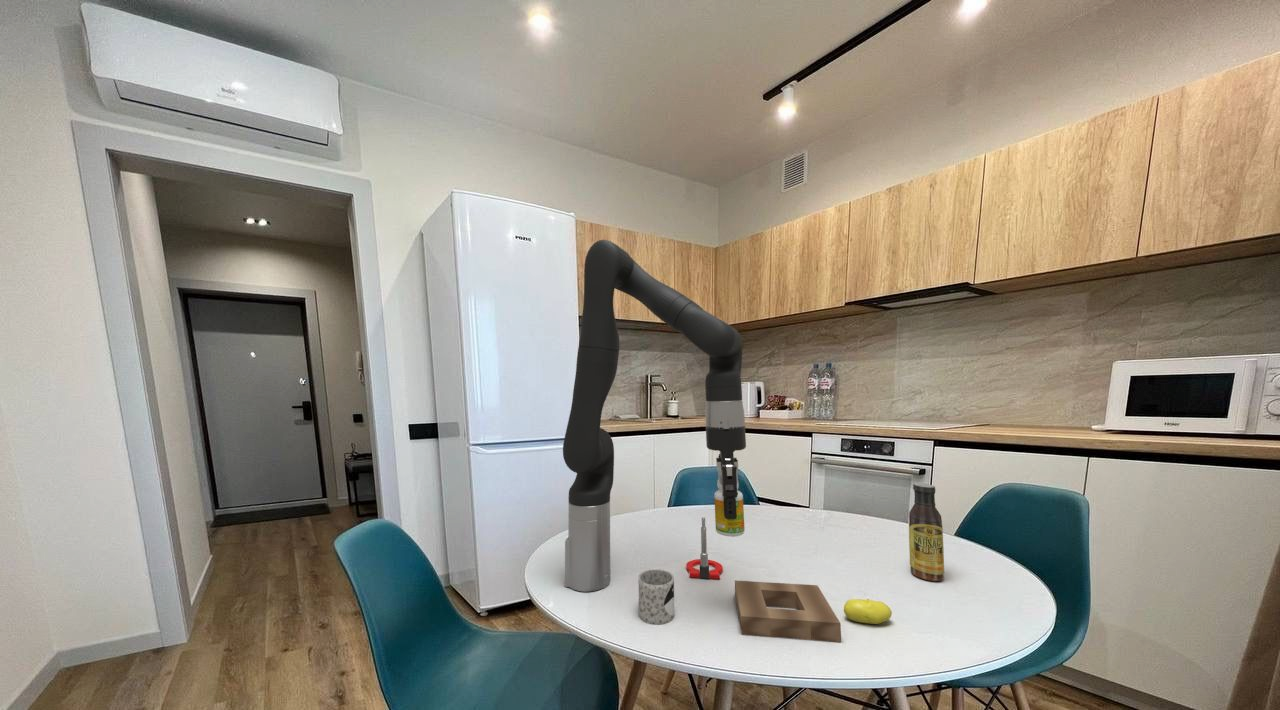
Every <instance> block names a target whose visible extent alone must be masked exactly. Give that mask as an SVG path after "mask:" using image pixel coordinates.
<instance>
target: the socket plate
mask: <svg viewBox="0 0 1280 710" xmlns="http://www.w3.org/2000/svg"><path fill="white" fill-rule="evenodd" d="M734 598H735V604H736V610H737V615H738V622H739V627H740V633H741V636H752V637H753V636H756V637H766V638H767V637H768V638H780V639H792V640H793V639H794V640H806V641H815V642H816V641H819V642H820V641H821V642H829V643H830V642H831V643H832V642H833V643H842V631H841V630H842V627H841V622H840V620H839V618H838V617H837V614H835V612H834V610H833V608H832V606H831V605H830V604H829V602H828V601H827V599H826V596H825V595H824V594H823V592H822V591H821V589H820V587H819V585H817V584H805V583H804V584H802V583H801V584H800V583H786V582H785V583H784V582H769V581H751V580H750V581H749V580H734Z"/></svg>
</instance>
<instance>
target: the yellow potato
mask: <svg viewBox="0 0 1280 710" xmlns="http://www.w3.org/2000/svg"><path fill="white" fill-rule="evenodd" d="M843 612H844V615H845V616H846V618H848V619H849V620H851V621H853V622H858V623H862V624H868V625H869V624H870V625H871V624H872V625H879V624H881V623H884V622H887V621H889V620H890V619H891V617H892V613H893V612H892V609H891V608H890V607H889V605H887V604H886V603H885V602H882V601H880V600H872V599H869V598H865V599H864V598H863V599H862V598H861V599H859V598H858V599H857V598H850V599H848V600H847V601H845V603H844V605H843Z"/></svg>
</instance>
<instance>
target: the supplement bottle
mask: <svg viewBox="0 0 1280 710" xmlns="http://www.w3.org/2000/svg"><path fill="white" fill-rule="evenodd" d="M716 483H717V488H718V489H717V490H716V491H715V492H714V496H713V499H714V519H715V521H714V523H715V532H716V533H717V534H718V535H721V536H725V537H731V538H732V537H740V536H742V535H744V533H745V532H746V531H745V517H744V516H745V514H744V513H745V511H744V508H745V507H744V494H743V493H742V492H741V491H740V490H739V487H740V486H739V485H740V484H739V483H738V484H737V492H738V495H737V498H736V513H737V518H736V519H726V518H725V517H724V500H723V496H722V492H723V491H722V485H720V483H719V478H718V479H717V481H716ZM726 490H733V486H732V485H726Z"/></svg>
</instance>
